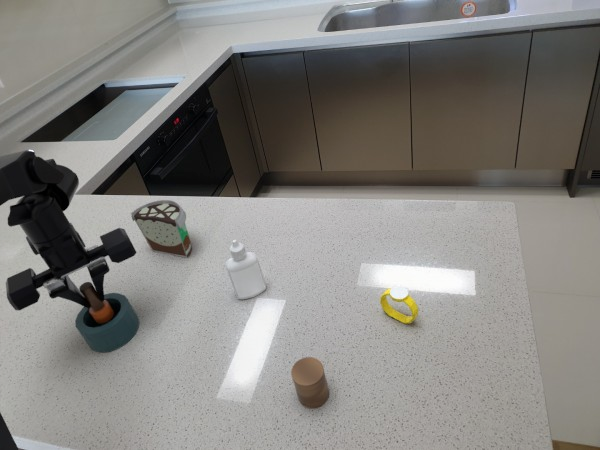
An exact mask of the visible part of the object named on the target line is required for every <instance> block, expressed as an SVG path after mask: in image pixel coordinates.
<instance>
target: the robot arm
mask: <svg viewBox="0 0 600 450" xmlns="http://www.w3.org/2000/svg"><path fill="white" fill-rule="evenodd" d="M79 181H80V180H79V176H78V174H77V173H76V172H74V171H73V170H72V169H70V168H69V167H68V166H65V165H61V164H57V162H56V160H55V158H49V159H43V157H42V156H37V155H36V153H35V151H34V150H32V149H26V150H21V151H17V152H12V153H8V154H2V155H0V207H1V206H2V205H4V204H6V203H7V202H8V201H12V200H14V199H18V200H17V202H16V203H15V204H12V205H10V206H9V213H8V215H7V226H8V227H10V228H12V227H16V226H20V228H21V229H22V231H23V233H24V234H25V235H26V236H25V239H26V241H27V244H28V245H29V248H30V249H31V251H32V253H33V255H35V256H38V255H40V257H41V258H42V260H43V262H44V263H45V264H46V266H47V267H48V269H45V270H43V271H41V272H40V273H36V272H35V271H34V269H33V268H31V267H29V268H27V269H25V270H23V271H20V272H18V273H16V274H13V275H11V276H9V277H7V278H6V281H5V291H6V299H7V301H8V303H9V305H10V306H11V307H12V308H13V309H14V310H15V311H22V310H24V309H26V308H28V307H30V306H33V305H35V304H36V303H38V302H39V300H40V297H41V293H40V292H39V290H38V289H41V288H42V287H43V288H44V289H46V291H47V292H48V296H49V297H50V299H56V298H61V299H65V300H67V301H71V302H73V303H75V304H78V305H80V306H82V307H86V308H88V309H89V308H91V306H90V305H89V303H88V302H87V300H86V299H85V297H84V296H83V294H82V293H81V291H80V290H79V287H78V286H77V285H76V284H75V283H74V281H72V279H71V278H70V275H71V274H74V273H76V272H78V271H80V270H82V269H84V268H87V271H88V274H89V276H90V279H91V281H92V285H93V286H94V288H95V290H96V291H97V294H98V296H99V298H100V299H101V301H102V302H103V301H104V294H105V291H104V282H105V275H107V274H108V273H109V272H110V271H111V269H110V267H109V264H108V262H107V260H106V257H108V258H109V260H110V261H111V262H112V263H115V264H120V263H122V262H124V261H126V260H128V259H131V258H132V257H134V256H136V254H137V253H138V252H137V250H136V248H135V247H134V244H133V243H132V241H131V239H130V236H129V235H128V233H127V231H126V229H125V228H122V227H117V228H115V229H113V230H110V231H108V232H106V233H104V234H102V235H100V236H99V238H100V241H101V243H102V244H100V245H98V244H95V245H92V246H90V247H88V248H86V247H87V246H86V244H85V242H84V240H83V238H82V237H81V235H80V233H79V232H78V231H77V230H76V229H75V227H74V225H73V223H72V222H70V221H69V219H68V218H67V216H66V214H65V213H64V212H65V211H67V210H68V208H69V206H70V205H71V203H72V200H73V198H74V196H75V194H76V192H77V190H78V188H79V185H80V182H79ZM19 198H20V199H19ZM0 450H19V446H18V445H17V443H16V441H15V439H14V437H13V435H12V433H11V431H10V429H9V427H8V425H7V422H6V420H5V419H4V417H3V415H2V413H1V412H0Z"/></svg>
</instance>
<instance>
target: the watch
mask: <svg viewBox="0 0 600 450" xmlns="http://www.w3.org/2000/svg"><path fill="white" fill-rule="evenodd" d="M387 296H389V297H390V299H391V300H392V301H394V302H397V303H402V302H403V303H404V304H405V305H406V306H407V307H408V308H409V310H410V312H411V316H410V315H409V316H407V315H406V314H404V313H402V312H400V311H397V310H396V309H394V308H393V307H392V305H391V304H389V301H388V299H387ZM379 304H380V307H381V308H382V309H383V311H384V312H385V314H387V316H388V317H391V318H393V319H395V320H397V321H398V322H400V323H402V324H406V325H407V324H412V323H413V322H414V321H415V320H416V318H417V317H418V315H419V306H418V305H417V303H416V301H415V300H414V298H413V297H412V296H410V295H409V289H407V287H405V286H404V285H395V286H393V287H390V288H387V289H386V290H385V291H384V292H383V293H382V294H381V295H380V298H379Z"/></svg>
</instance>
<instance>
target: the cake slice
mask: <svg viewBox="0 0 600 450" xmlns="http://www.w3.org/2000/svg"><path fill="white" fill-rule="evenodd" d="M130 217H131V220H132V222H135V224H136V225H137V227H138V229H139V231H140V232H141V234H142V236H143V237H144V239H145V241H146V243H147V245H148V246H149V248H150V250H151V251H152V252H156V253H160V254H166V255H170V256H175V257H181V258H186V259H188V258H189V257H190V255H191V253H192V250H193V247H192V246H193V245H192V242H191V238H190V235H189V231H188V227H187V224H186V221H187V214H186V211H185V210H184V209H183V207H182V206H181V205H180V204H179V203H178V202H176V201H174V200H170V199H159V200H156V201H155V200H154V201H150V202H147V203H145V204H143V205H141V206H139V207H137V208H135V209H134V210H133V211H132V212H131V213H130Z"/></svg>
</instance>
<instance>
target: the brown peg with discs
mask: <svg viewBox="0 0 600 450" xmlns="http://www.w3.org/2000/svg"><path fill="white" fill-rule="evenodd" d="M78 289H79V290H80V291H81V293H82V294H83V296H84V297H85V299H86V300H87V302H88V303H89V305H90V306H91V308H90V309H89V312H90V314H91V315H92V317H93V318H94V320H95V321H96V322H97V323H99V324H103V323H106V322H108V321H109V320H111V319H112V317H113V316H114V311H113V310H112V308H111V306H110V305H109V303H108V302H107V301H106V300H104V301H103V302H102V301H101V299H100V298H99V296H98V294H97V291H96V289H95V286H94V284H93V282H91V281H85V282H83V283H81V285H80V286H79V287H78Z"/></svg>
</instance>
